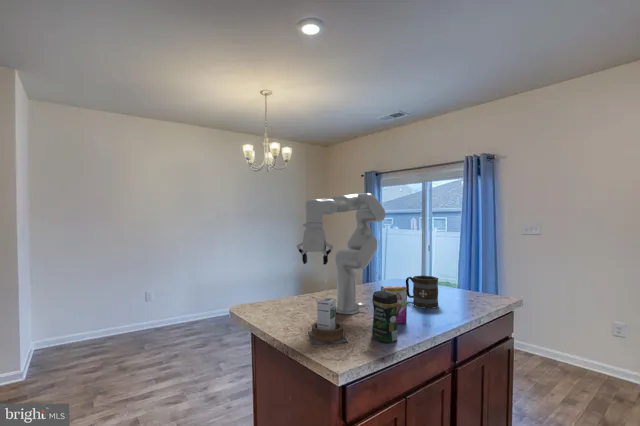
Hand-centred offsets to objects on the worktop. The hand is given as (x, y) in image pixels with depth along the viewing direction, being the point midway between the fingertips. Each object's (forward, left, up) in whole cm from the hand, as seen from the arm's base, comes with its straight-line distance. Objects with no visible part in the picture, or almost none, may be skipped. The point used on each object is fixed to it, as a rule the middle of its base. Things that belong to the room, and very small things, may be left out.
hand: (315, 263), depth 152 cm
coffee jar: (-24, +25, -27) cm, 44 cm away
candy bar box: (-35, +6, -27) cm, 45 cm away
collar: (-2, +20, -27) cm, 33 cm away
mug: (-62, -23, -27) cm, 72 cm away
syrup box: (-2, +20, -26) cm, 33 cm away
